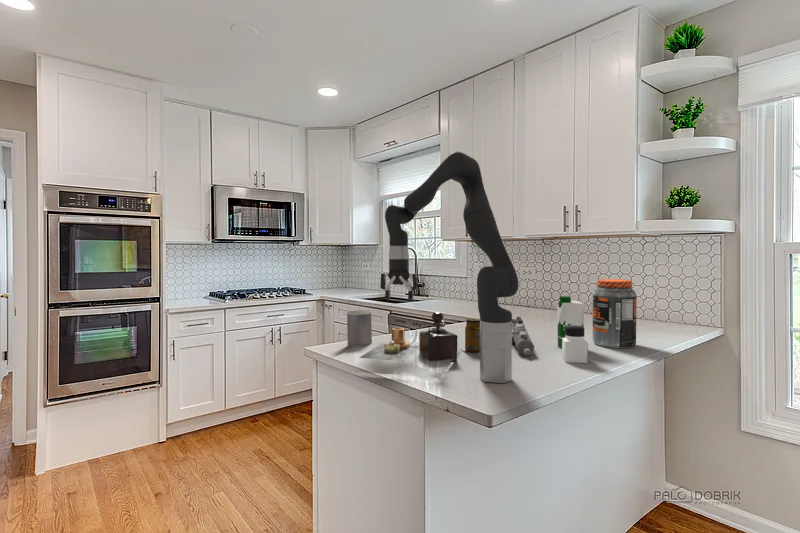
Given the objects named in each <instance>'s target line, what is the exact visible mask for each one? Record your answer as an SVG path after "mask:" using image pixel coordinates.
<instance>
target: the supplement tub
mask: <svg viewBox="0 0 800 533" xmlns="http://www.w3.org/2000/svg"><path fill="white" fill-rule="evenodd" d="M596 282H597V283H596V288H595V289H594V290H593V291H592V292H593V293H592V342H593V343H594V344H596V345H597V346H600V347H601V346H602V347H604V348H605V347H607V348H611V349H612V348H614V349H627V348H628V349H629V348H633V347H635V346H636V344H637V305H638V304H637V302H638V301H637V298H638V297H637V293H636V291H635V290H634V289H633V288H632V286H633V281H632V280H630V279H620V278H619V279H617V278H606V279H605V278H602V279H597V281H596Z"/></svg>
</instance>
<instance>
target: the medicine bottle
mask: <svg viewBox="0 0 800 533" xmlns="http://www.w3.org/2000/svg"><path fill="white" fill-rule="evenodd" d="M565 337H566V338H562V349H561V358H562V360H563V361H564V362H565V363H567V364H570V363H572V364H588V363H589V343H588V341H587V340H586V339H585V327H582V326H579V325H568V326H566V327H565Z"/></svg>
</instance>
